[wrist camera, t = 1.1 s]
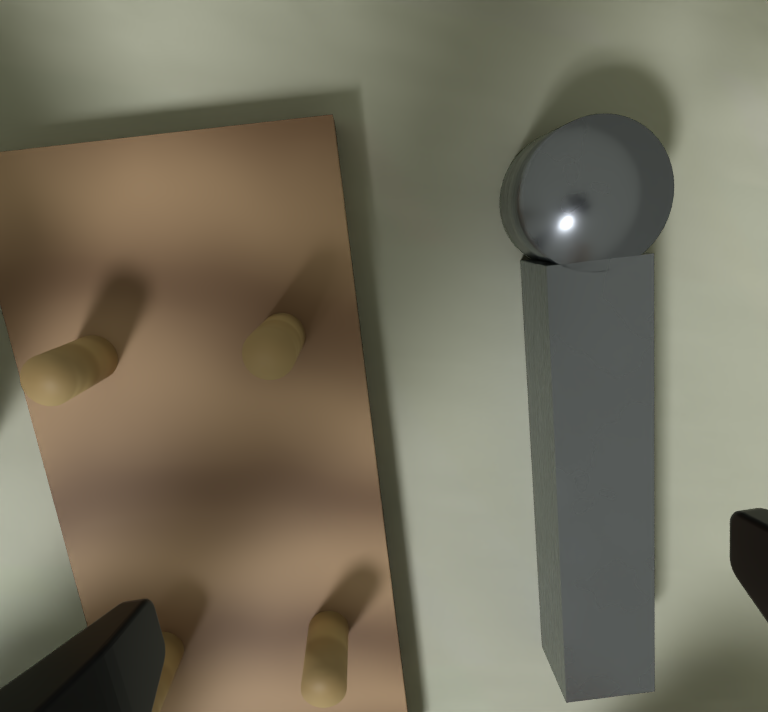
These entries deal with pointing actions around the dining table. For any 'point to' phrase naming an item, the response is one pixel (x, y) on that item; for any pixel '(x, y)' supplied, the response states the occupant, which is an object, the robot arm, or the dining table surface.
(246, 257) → the tool rest
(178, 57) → the dining table surface
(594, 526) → the grey ball-topped bar
